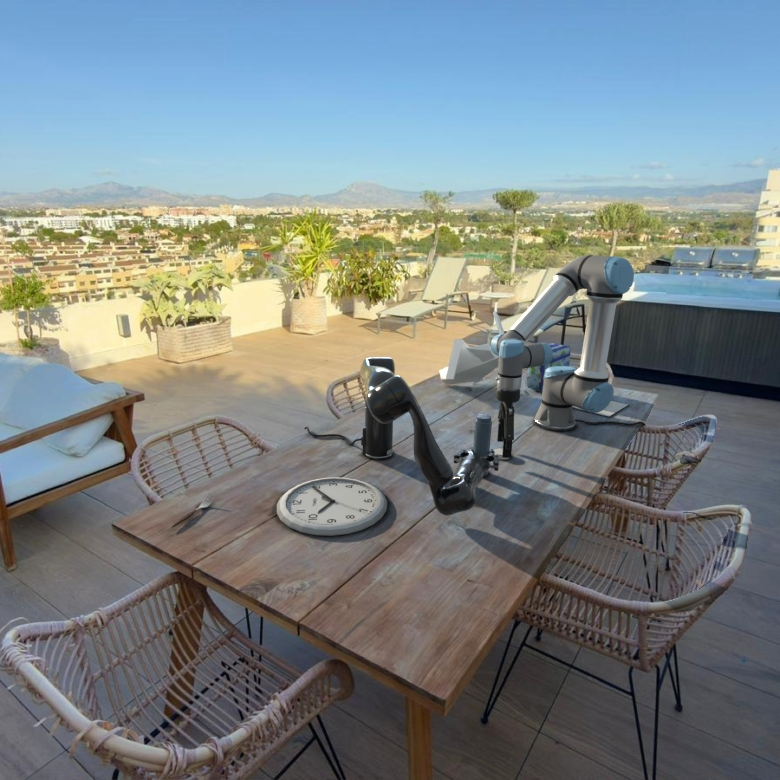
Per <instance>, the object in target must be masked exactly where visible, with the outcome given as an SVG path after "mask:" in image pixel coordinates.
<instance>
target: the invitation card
mask: <svg viewBox="0 0 780 780" xmlns="http://www.w3.org/2000/svg"><path fill="white" fill-rule="evenodd" d="M628 406H629V404H627V403H623V402H618V401H614V400H611V402H610V403H609V405H608V406H607V407H606V408H605V409H604V410H602V411H600V412H597V413H595V414H596V415H600V416H604V417H608V418H609V417H611V416H613V415H614V414H616V413H617V412H619V411H621V410H623V409H624V408H626V407H628ZM573 409H575V410H581V411H584V410H583V409H581V408H578V407H575V406H573ZM587 413H590V412H589V411H587ZM591 413H593V412H591ZM593 414H594V413H593Z"/></svg>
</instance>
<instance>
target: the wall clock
mask: <svg viewBox="0 0 780 780" xmlns="http://www.w3.org/2000/svg"><path fill="white" fill-rule="evenodd" d="M387 509H388V500H387V498H386V496H385V494H384V493H383V492H382V491H381V490H380V489H379V488H377V487H376V486H374V485H372V484H371V483H369V482H365V481H362V480H359V479H355V478H349V477H338V476H337V477H335V476H333V477H332V476H331V477H322V478H317V479H312V480H307V481H305V482H302V483H299V484H297V485H295V486H293V487H292V488H290V489H288V490H287V491H286V492H285V493H284V494H283V495H281V496H280V498H279V499H278V502H277V503H276V515H277V517H278V518H279V520H280V521H281V522H282V523H283V524H285V525H286V526H287V527H288V528H290V529H293V530H295V531H297V532H299V533H303V534H308V535H312V536H327V537H328V536H329V537H331V536H332V537H333V536H342V535H350V534H352V533H356V532H361V531H363V530H366V529H368V528H369V527H372V526H373V525H375V524H376V523H378V522H379V521H380V520H381V519H382V518H383V517H384V516H385V514H386V512H387Z"/></svg>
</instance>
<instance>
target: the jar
mask: <svg viewBox="0 0 780 780" xmlns="http://www.w3.org/2000/svg"><path fill="white" fill-rule="evenodd" d="M492 426H493V421H492V416H491V415H489V414H486V413H478V414H477V415H476V418H475V420H474V433H473V445H472V447H473V455H477V456H483V455H484V454H489V452H490V450H491V441H492V440H491V439H492V429H493V428H492ZM488 474H489V469H488V470H486V472H485V474H484V476H483V477H486V476H488Z"/></svg>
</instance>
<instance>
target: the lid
mask: <svg viewBox="0 0 780 780" xmlns="http://www.w3.org/2000/svg"><path fill="white" fill-rule="evenodd" d="M493 451H495V455H498V458H499V460H501V461H502V460H504V461H505V460H509V459H510V458H502V453H503V447H501V448H499V447H498V448H495V449H493Z"/></svg>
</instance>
